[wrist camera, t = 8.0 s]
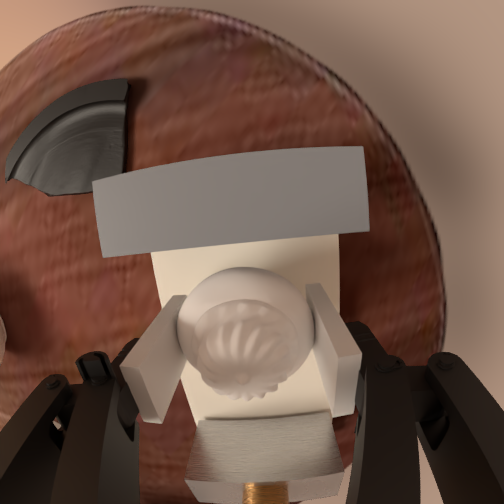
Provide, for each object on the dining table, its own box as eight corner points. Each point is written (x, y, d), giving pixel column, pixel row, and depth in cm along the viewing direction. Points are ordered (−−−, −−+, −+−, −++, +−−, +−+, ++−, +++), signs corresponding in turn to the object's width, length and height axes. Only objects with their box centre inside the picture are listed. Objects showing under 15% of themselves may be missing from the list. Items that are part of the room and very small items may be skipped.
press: (324, 433, 21) (339, 498, 13) (211, 441, 22) (199, 506, 14) (323, 157, 16) (373, 133, 8) (152, 177, 17) (81, 171, 9)
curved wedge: (21, 114, 16) (10, 112, 14) (139, 81, 16) (129, 73, 14) (14, 200, 18) (2, 202, 16) (129, 192, 17) (118, 192, 16)
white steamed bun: (311, 256, 15) (354, 312, 8) (292, 352, 16) (309, 440, 9) (196, 242, 15) (148, 288, 8) (191, 341, 16) (159, 423, 9)
